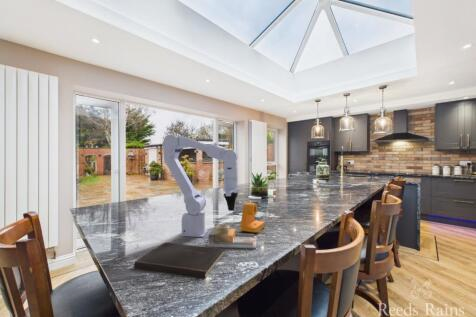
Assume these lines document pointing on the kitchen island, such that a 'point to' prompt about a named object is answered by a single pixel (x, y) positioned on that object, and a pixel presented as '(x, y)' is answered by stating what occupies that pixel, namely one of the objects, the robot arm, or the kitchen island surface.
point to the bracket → (250, 218)
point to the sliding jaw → (231, 235)
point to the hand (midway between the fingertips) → (231, 210)
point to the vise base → (238, 242)
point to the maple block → (221, 232)
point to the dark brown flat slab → (181, 260)
